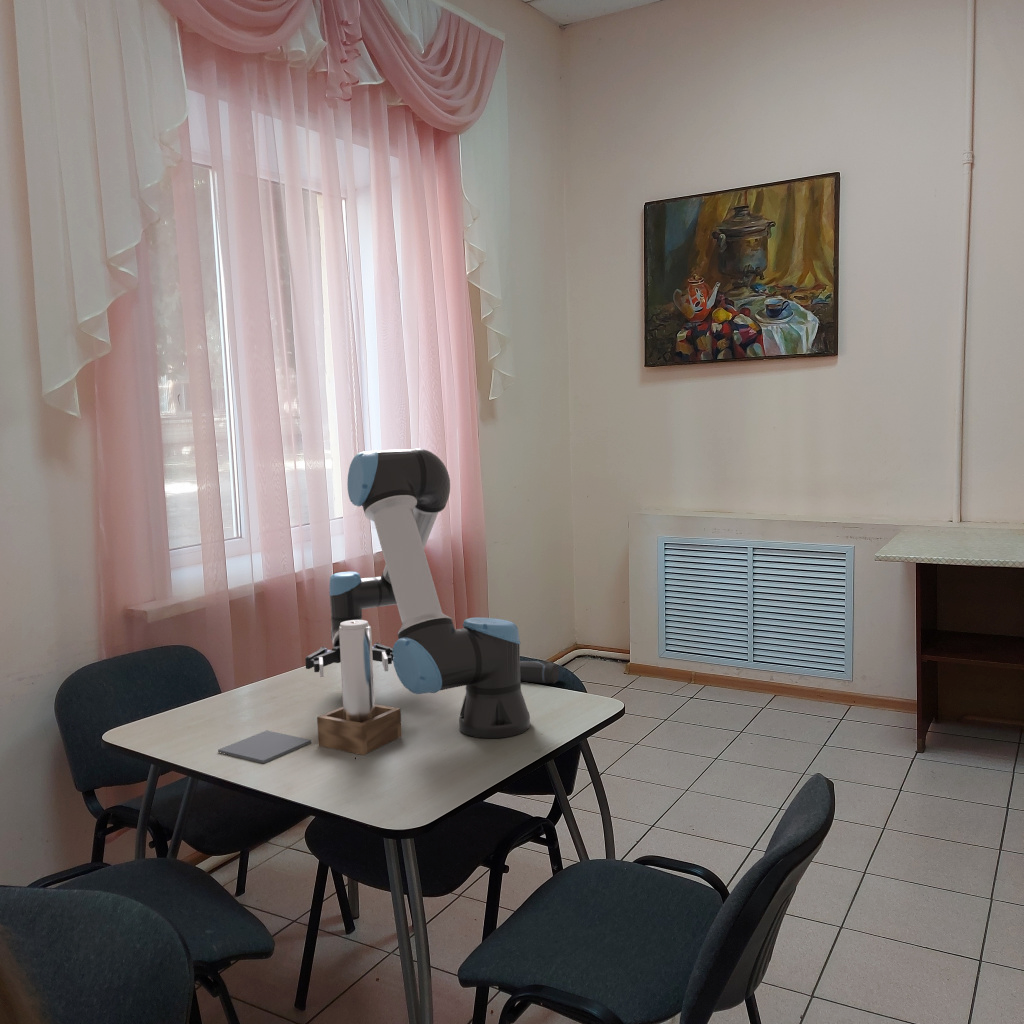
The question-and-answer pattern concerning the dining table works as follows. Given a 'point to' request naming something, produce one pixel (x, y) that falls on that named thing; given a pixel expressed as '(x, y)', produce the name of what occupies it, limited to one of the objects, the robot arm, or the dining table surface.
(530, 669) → the power drill
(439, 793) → the dining table surface
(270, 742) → the mat
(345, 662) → the shiny metal cylinder
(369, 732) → the square wooden frame
